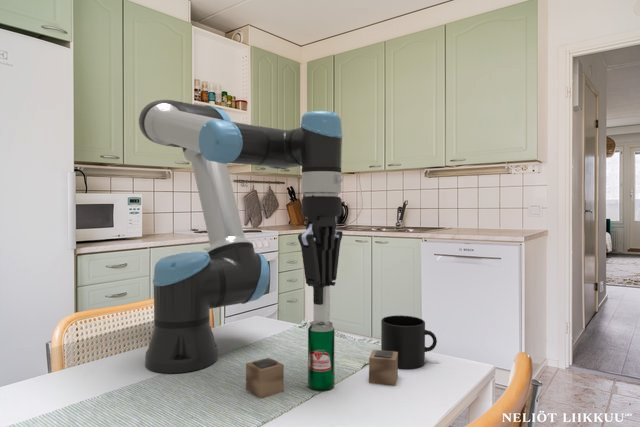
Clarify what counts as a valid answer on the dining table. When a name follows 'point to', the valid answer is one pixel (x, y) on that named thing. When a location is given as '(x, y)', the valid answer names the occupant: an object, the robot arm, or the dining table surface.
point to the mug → (406, 339)
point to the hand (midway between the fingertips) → (321, 320)
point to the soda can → (321, 355)
